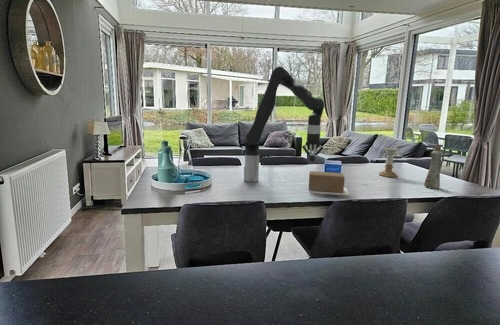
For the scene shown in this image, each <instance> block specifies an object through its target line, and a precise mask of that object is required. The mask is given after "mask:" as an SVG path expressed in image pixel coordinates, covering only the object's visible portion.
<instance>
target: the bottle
mask: <svg viewBox="0 0 500 325" xmlns="http://www.w3.org/2000/svg"><path fill="white" fill-rule="evenodd" d="M441 148H442V145H441V144H439V143H438V144H435V146H434V150H433V151H431V153H430V154H431V156H430V157H431V158H430V159H431V160H430V161H431V162H430V166H429V169H428V172H427V175H426V177H425V180H424V183H423V185H424V187H425V186H426V187H425V188H427V187H430V188H429V189H439V188H440V186H441V182H440V181H441V175H440V174H441V173H440V163H441V159H442V157H443V151H441V150H442V149H441Z"/></svg>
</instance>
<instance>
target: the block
mask: <svg viewBox="0 0 500 325" xmlns="http://www.w3.org/2000/svg"><path fill="white" fill-rule="evenodd" d="M308 174H309V176H308V190H309V191H324V192H338V193H343V191H344V188H345V175H344V174H343V173H342V172H330V171H314V170H313V171H312V170H311V171H309V172H308Z"/></svg>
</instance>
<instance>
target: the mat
mask: <svg viewBox="0 0 500 325" xmlns="http://www.w3.org/2000/svg"><path fill="white" fill-rule="evenodd" d="M309 191H310V190H309ZM309 193H310V194H321V195H333V196H334V195H335V196H350V193H349V190H348V189H347V187H344V191H343V193H338V192H324V191H310V192H309Z"/></svg>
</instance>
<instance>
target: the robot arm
mask: <svg viewBox="0 0 500 325" xmlns="http://www.w3.org/2000/svg"><path fill="white" fill-rule="evenodd" d="M279 85H281V86H283V87H285V88H286V89H288V90H289V91H291V93H292V94H294V96H296V98H297V99H299V100H300V101H301V102H302V103H303V104H304V106H305V107H306V109H308V110H310V111H312V113H311V114H309V116H308V122H307V130H306V133H307V134H306V142H305V144H304V145H302V146H301V147H302V149H303V151H304V152H305V154H306V155H308V156H309V162H310V163H314V162H315V156H318V155H319V154H320V153H321V151H323V150H324V146H322V145H321V142H320V140H321V122H322V121H321V118H322V115H323V113H324V108H325V103H324V102H325V101H324V100H323V99H322V98H319V97H313V94H312V92H311V91H310V90H308V89H307V88H306V87H305V86H303V84H300V83H299V82H297V81H296V80H295V79H294V78H293V77H292V75H291V74H290V72H289V71H288V70H286V69H285V68H284V67H283V66H276V67H275V68H274V69H273V70H272V73H271V75H270V77H269V81H268V84H267V87H266V90H265V91H264V94H263V96H262V98H261V100H260V102H259V105H258V107H257V110H256V113H255V116H254V121H253V124H252V125H251V128H250V129H249V130H247V132H245V135H244V167H243V181H244V182H248V183H257V182H259V180H260V179H259V175H260V172H259V171H260V141H261V138H262V136H263V135H262V134H263V131H264V130H265V129H264V128H265V126H266V124H268V121H269V119H270V117H271V115H272V113H273V110H274V108H275V106H276V102H277V92H278V91H277V90H278V89H279Z"/></svg>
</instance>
